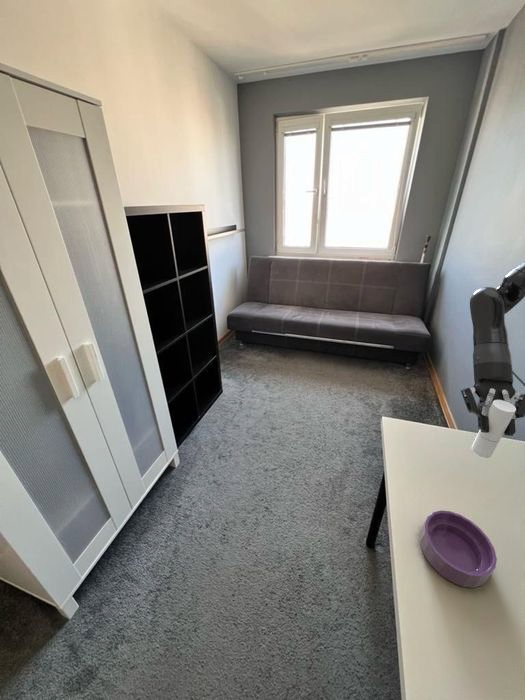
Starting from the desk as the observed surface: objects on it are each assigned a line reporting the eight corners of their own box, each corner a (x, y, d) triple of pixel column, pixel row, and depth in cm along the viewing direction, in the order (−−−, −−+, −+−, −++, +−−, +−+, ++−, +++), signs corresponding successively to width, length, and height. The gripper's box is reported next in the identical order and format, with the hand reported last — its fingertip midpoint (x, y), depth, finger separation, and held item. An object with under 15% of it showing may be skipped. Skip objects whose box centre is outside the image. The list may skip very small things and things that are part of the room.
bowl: (428, 512, 72) (434, 499, 69) (491, 550, 64) (500, 537, 61) (411, 555, 64) (416, 542, 61) (481, 605, 56) (491, 593, 53)
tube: (488, 460, 69) (513, 414, 62) (468, 450, 72) (489, 405, 65) (494, 451, 71) (518, 406, 64) (474, 441, 74) (496, 397, 67)
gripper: (515, 370, 72) (521, 438, 68) (453, 364, 75) (455, 429, 71) (536, 363, 65) (544, 439, 61) (467, 357, 68) (470, 429, 64)
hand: (496, 433), depth 66 cm, fingers closed on tube, 4 cm apart
